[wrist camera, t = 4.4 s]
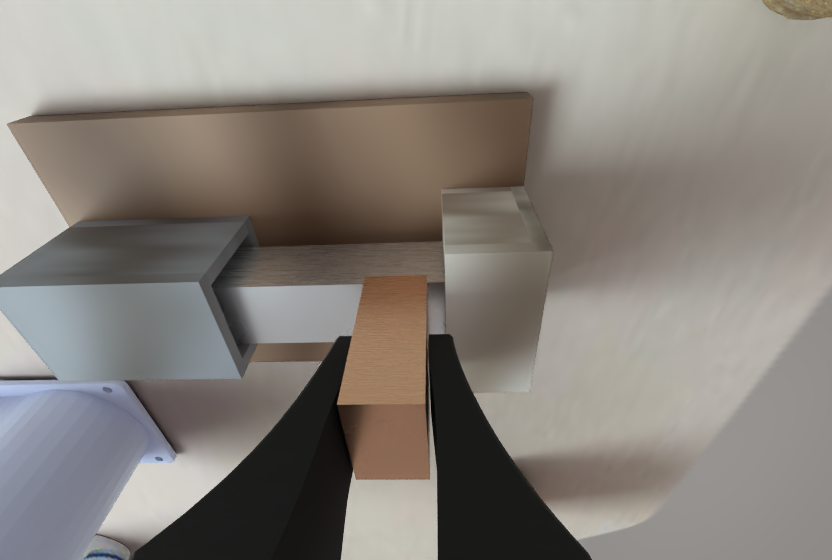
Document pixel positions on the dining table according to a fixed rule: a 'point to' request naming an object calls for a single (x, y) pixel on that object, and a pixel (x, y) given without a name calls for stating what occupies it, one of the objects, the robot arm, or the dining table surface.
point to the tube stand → (273, 227)
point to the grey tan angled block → (352, 334)
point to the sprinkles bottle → (801, 8)
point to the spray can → (106, 550)
